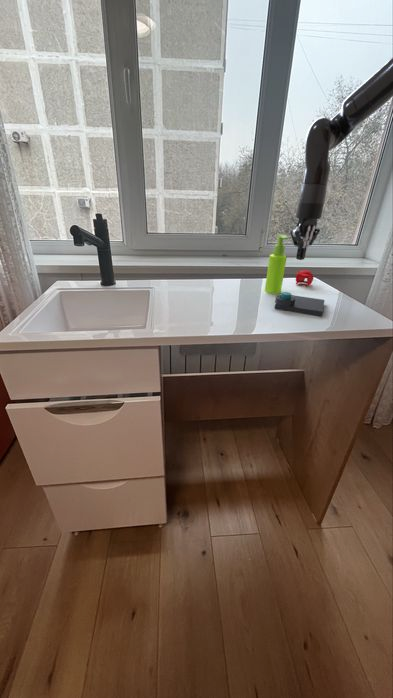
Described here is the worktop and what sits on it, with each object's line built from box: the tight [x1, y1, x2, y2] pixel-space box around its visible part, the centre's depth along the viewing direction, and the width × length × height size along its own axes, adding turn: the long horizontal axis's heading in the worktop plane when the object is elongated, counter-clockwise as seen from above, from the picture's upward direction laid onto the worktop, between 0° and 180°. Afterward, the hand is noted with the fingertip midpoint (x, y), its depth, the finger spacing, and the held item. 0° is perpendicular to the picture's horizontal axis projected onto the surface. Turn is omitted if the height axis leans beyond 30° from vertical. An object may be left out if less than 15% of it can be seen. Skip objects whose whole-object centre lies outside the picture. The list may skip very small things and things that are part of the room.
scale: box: [274, 294, 326, 318], centre depth 92 cm, size 14×12×4 cm
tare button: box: [280, 291, 292, 300], centre depth 90 cm, size 3×3×2 cm
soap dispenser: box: [264, 234, 289, 295], centre depth 102 cm, size 6×7×20 cm
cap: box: [295, 269, 314, 287], centre depth 114 cm, size 8×6×6 cm
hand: (300, 259), depth 96 cm, fingers closed
